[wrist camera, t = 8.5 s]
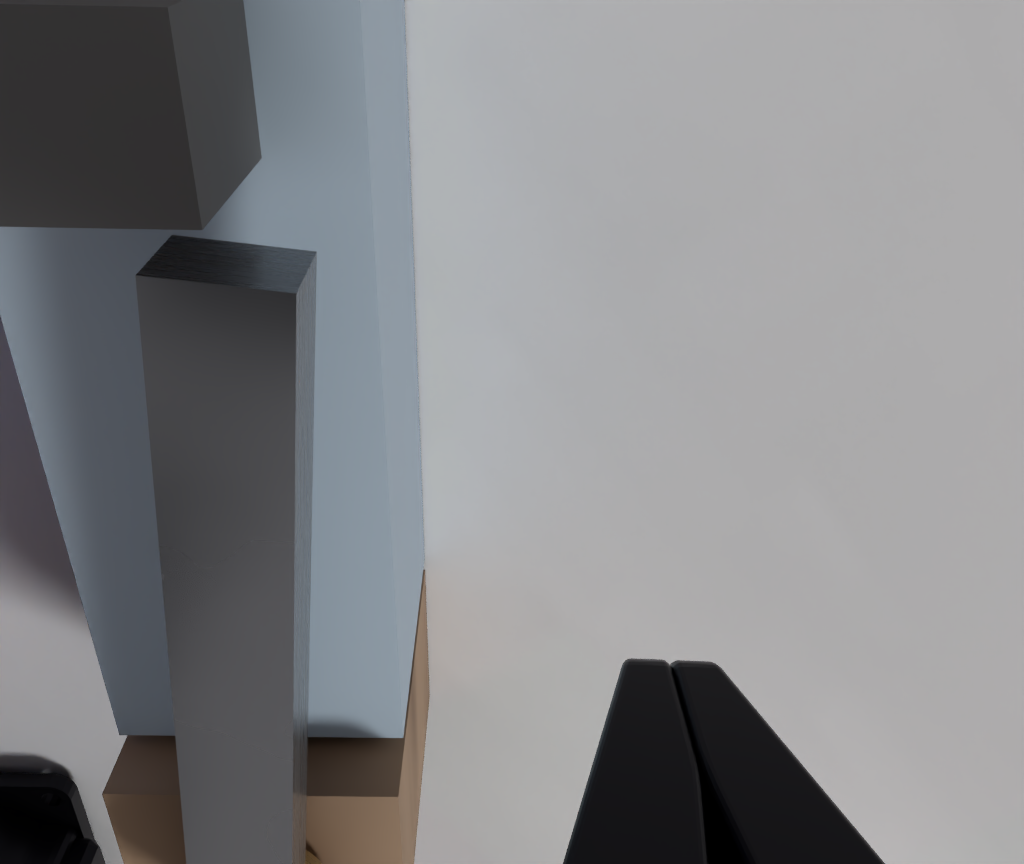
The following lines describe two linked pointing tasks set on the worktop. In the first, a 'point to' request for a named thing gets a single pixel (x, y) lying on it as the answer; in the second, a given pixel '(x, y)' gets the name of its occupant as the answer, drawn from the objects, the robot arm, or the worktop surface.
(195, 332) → the bar
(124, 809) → the tan wooden block
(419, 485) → the blue-grey block
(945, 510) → the worktop surface
